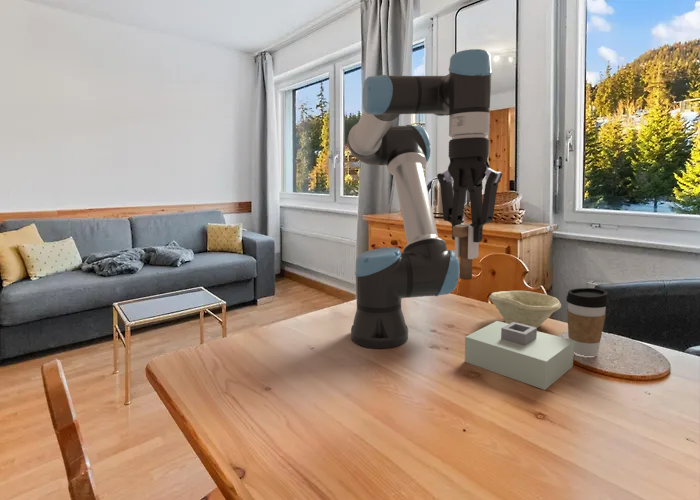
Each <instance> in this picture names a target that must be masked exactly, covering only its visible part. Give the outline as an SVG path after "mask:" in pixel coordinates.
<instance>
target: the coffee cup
mask: <svg viewBox="0 0 700 500" xmlns="http://www.w3.org/2000/svg"><path fill="white" fill-rule="evenodd" d="M565 299H566V302H567V303H568V304H567V306H568V307H567V310H566V311H567V313H566V314H567V333H568V335H567V336H568V339H570V340H574V352H575V353H577V354H580V355H584V356H596V355H597V354H598V355H599V351H600V349H599V348H600V345H601V340H602V336H603V335H602V334H603V329H604V325H605V320H606V315H607V314H606V308H607V307H608V306H609V303H610V301H609V294H608V291H607V290H604V289H601V288H597V287H596V288H595V287H581V288H580V287H579V288H571V289H569V290H568V291H567V296H566V298H565ZM598 355H597V356H598Z"/></svg>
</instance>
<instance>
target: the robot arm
mask: <svg viewBox="0 0 700 500" xmlns="http://www.w3.org/2000/svg"><path fill="white" fill-rule="evenodd" d="M491 58H492V57H491V54H490V52H489V51H487V50H485V49H482V48H481V49H480V48H479V49H478V48H477V49H476V48H475V49H473V48H472V49H471V48H470V49H464V50H460V51H458V52H454V53H453V54H452V55H451V56H450V59H449V67H448V72H449V73H448V74H447V75H386V74H381V75H371V76H367V78H365V80H364V81H363V86H362V87H363V88H362V106H363V112H362V114H361V116H360V118H359V120H358V122H357V123H355V124H354V125H353V126H352V127H350V128H351V129H350V130H349V131H348V132H349V133H348V135H347V140H346V141H347V142H346V143H347V147H348V150H349V152H350V153H351V155H352V156H353V157H354V158H355V159H356V160H358V161H359V162H362V163H363V164H366V165H370V166H386V167H387V170H388V173H389V174H390V175H392V176H393V177H394V181H395V185H396V191H397V196H398V201H399V206H400V213H401V217H402V223H403V228H404V233H405V238H406V239H405V240H406V243H407V244H406V245H405V246H404V247H403V249H402V251H401V249H400V248H398V247H392V246H391V247H379V248H374V249H370V250H367V251H364V252H362V253H360V254H359V255H358V256H357V258H356V260H355V270H354V275H355V288H356V289H355V290H356V295H355V296H356V311H355V314H354V319H353V324H352V326H351V328H350V339H351V341H352V340H353V341H352V342H353V343H354V342H355V343H354V344H356V345H358V346H360V345H361V347H364V348H370V349H387V348H388V349H390V348H395V347H397V346H401V345H403V344H404V343H406V342H407V341H408V340H409V327H408V326H407V324H406V321H405V317H404V313H403V311H402V299H410V298H420V297H421V298H423V297H439V296H442V295H443V296H444V295H449V294H452V293H453V292H454V290H456V287H457V285H458V281H459V279H460V242H461V237H452V236H453V226H458V225H464V224H465V223H464V222H465V220H463V219H464V211H465V204H466V203H465V202H466V196H467V195H466V194H467V192H469V204H470V215H471V223H472V224H470V225H471V226H468V259H472V260H473V259H476V258H479V252H480V250H479V245H480V244H479V243H481V242H482V241H483V234H484V231H483V228H484V225H486V224H489V223H490V224H491V223H492V222H493V219H494V213H495V205H496V199H497V198H496V197H497V192H498V185H499V183H500V181H501V179H502V177H503V173H502V171H496V170H494V169H492V168H491V167H490V164H489V159H488V158H489V155H490V151H489V150H490V139H489V138H488V137H487V136H489V135H490V128H491V127H490V123H491V121H490V119H491V116H490V115H491V113H490V110H491V109H490V108H491V93H492V92H491V89H492V74H493V72H492V62H491V61H492V59H491ZM423 114H424V115H426V114H427V115H428V114H429V115H435V116H438V117H444V116H448V136H449V137H450V138H451V139H450V140H449V141H448V158H449V164H448V166H447V170H445V171H444V172H439V173H437V175H436V179H437V180H438V182H439V185H440V197H441V205H442V217H443V221H444V222H449V223H450V224H451V238H452V240H453V241H454V250H452V249H448V246H447V243H446V241H445V240H444V239H442V238H440V237H439V234H438V229H437V225H436V219H435V214H434V212H433V207H432V203H431V198H430V194H429V189H428V186H427V181H426V176H425V171H424V169H425V168H426V166H427V163H429V159H430V158H431V140H430V136H429V134H428V132H427V131H426V129H425V128H424V127H423V126H421V125H412V124H406V125H393V124H394V123H395V121H396V120H397V119H398V117H399V116H400V115H423ZM484 178H485V180H486V182H485V185H484V188H483V181H484ZM452 180H453V182H452ZM483 189H484V192H483ZM482 192H483V193H482ZM402 252H403V253H402Z"/></svg>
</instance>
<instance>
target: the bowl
mask: <svg viewBox="0 0 700 500" xmlns="http://www.w3.org/2000/svg"><path fill="white" fill-rule="evenodd" d="M488 297H489V300H490V301H491V302H492V303H493V304H494V306H495V308H496V309H497V310H498V312H499V314H500V315H501V317H502V318H503V321H504V323H507V324H510V323H512V322H516V323H520V324H524V325H528V326H532V327H536V328H537V329H538V328H539V327H541V326H542V325H543V323H544V322H545V321H547V320H548V319H549V318H550V317H551V316H552V314H553V313H555V312H557V311H558V310H559V309H561V308H562V304H561V302H560V300H559V299H558V298H557V297H555V296H552V295H549V294H544V293H540V292H534V291H529V290H528V291H527V290H508V291H505V290H504V291H503V290H502V291H501V290H500V291H495V292H492V293H490V295H489V296H488Z"/></svg>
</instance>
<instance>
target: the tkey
mask: <svg viewBox="0 0 700 500" xmlns="http://www.w3.org/2000/svg"><path fill="white" fill-rule="evenodd" d="M463 224H464V225H458V226H453V236H452V235H451V238H452V237H461V242H460V257H459V279H460V280H465V281H469V280H472V279H473V259H468V226H471V225H470V224H472V222H470V223H463Z"/></svg>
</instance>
